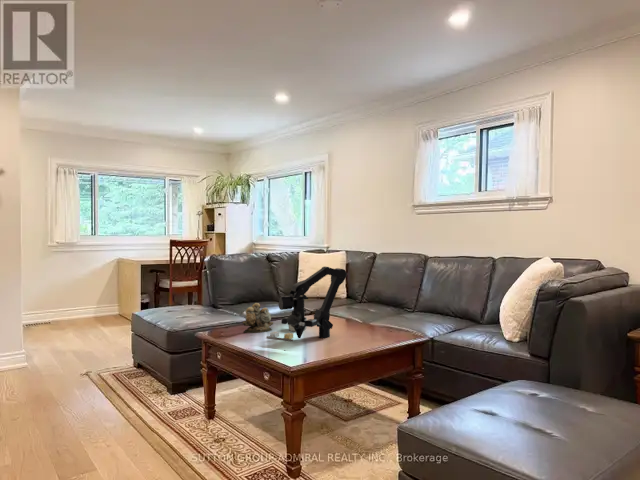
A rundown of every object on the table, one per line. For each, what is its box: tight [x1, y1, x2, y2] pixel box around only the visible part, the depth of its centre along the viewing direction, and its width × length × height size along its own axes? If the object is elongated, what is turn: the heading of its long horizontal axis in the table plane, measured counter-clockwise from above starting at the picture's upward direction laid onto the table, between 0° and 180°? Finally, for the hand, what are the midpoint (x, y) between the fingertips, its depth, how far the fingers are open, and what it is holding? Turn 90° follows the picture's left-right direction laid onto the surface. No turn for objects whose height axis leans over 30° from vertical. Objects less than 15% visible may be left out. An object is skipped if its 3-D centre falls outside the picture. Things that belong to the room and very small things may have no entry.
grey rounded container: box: [287, 317, 308, 332], centre depth 257 cm, size 14×11×8 cm
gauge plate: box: [266, 335, 294, 342], centre depth 236 cm, size 14×19×2 cm
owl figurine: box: [242, 302, 274, 334], centre depth 254 cm, size 18×12×17 cm, turn 120°
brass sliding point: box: [283, 332, 294, 339], centre depth 233 cm, size 5×3×2 cm, turn 151°
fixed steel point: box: [269, 331, 280, 338], centre depth 237 cm, size 6×3×2 cm, turn 151°
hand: (299, 338), depth 231 cm, fingers closed
